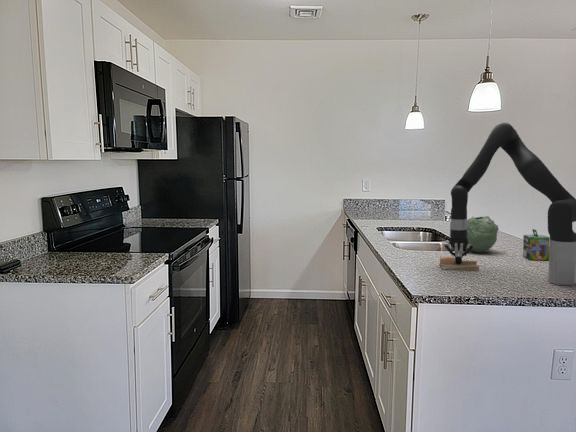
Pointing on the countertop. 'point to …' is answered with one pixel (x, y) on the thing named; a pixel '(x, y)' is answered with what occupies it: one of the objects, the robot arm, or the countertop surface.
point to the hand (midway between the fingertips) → (458, 264)
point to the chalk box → (536, 247)
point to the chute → (462, 265)
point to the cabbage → (481, 233)
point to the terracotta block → (446, 260)
